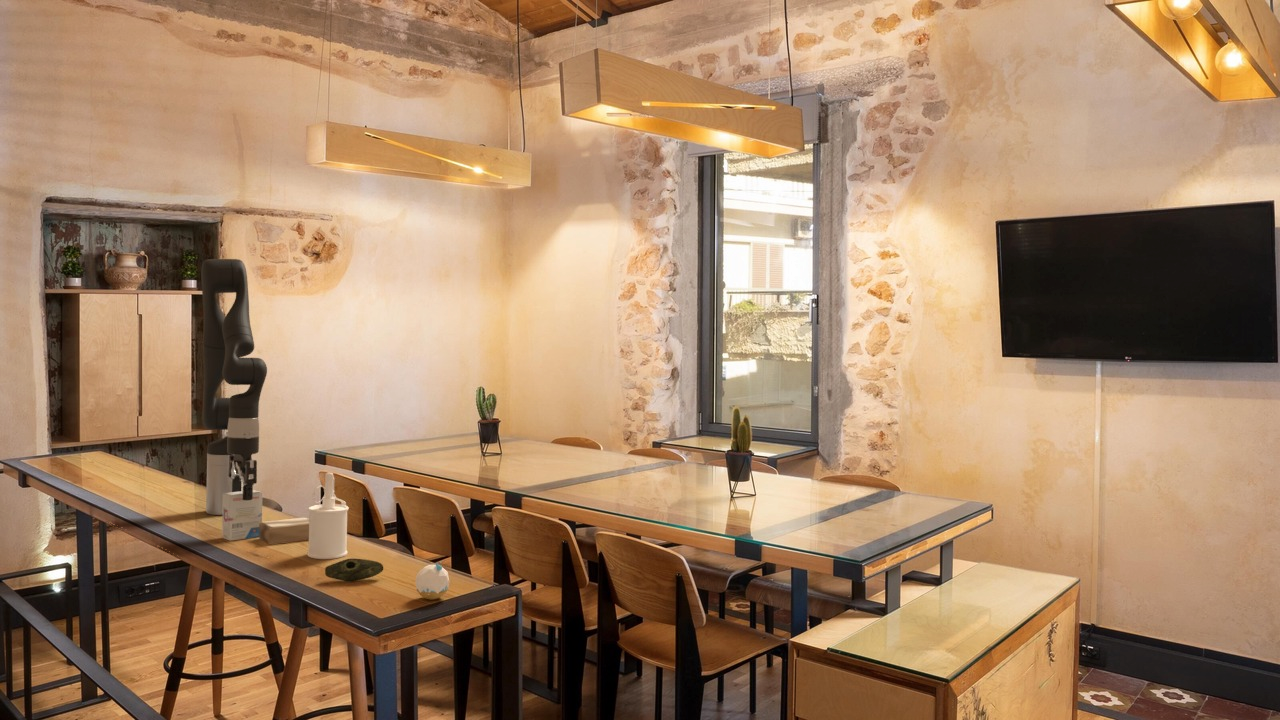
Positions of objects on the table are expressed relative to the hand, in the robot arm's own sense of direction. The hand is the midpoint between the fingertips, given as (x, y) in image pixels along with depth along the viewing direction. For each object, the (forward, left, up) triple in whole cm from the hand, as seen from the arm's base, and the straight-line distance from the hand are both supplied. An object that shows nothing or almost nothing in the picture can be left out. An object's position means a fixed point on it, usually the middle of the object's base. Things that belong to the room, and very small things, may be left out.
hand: (241, 497), depth 241 cm
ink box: (0, 0, -11) cm, 11 cm away
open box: (+8, +9, -10) cm, 16 cm away
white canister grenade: (+29, +11, -11) cm, 33 cm away
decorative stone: (+54, +6, -11) cm, 55 cm away
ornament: (+76, +13, -11) cm, 78 cm away
